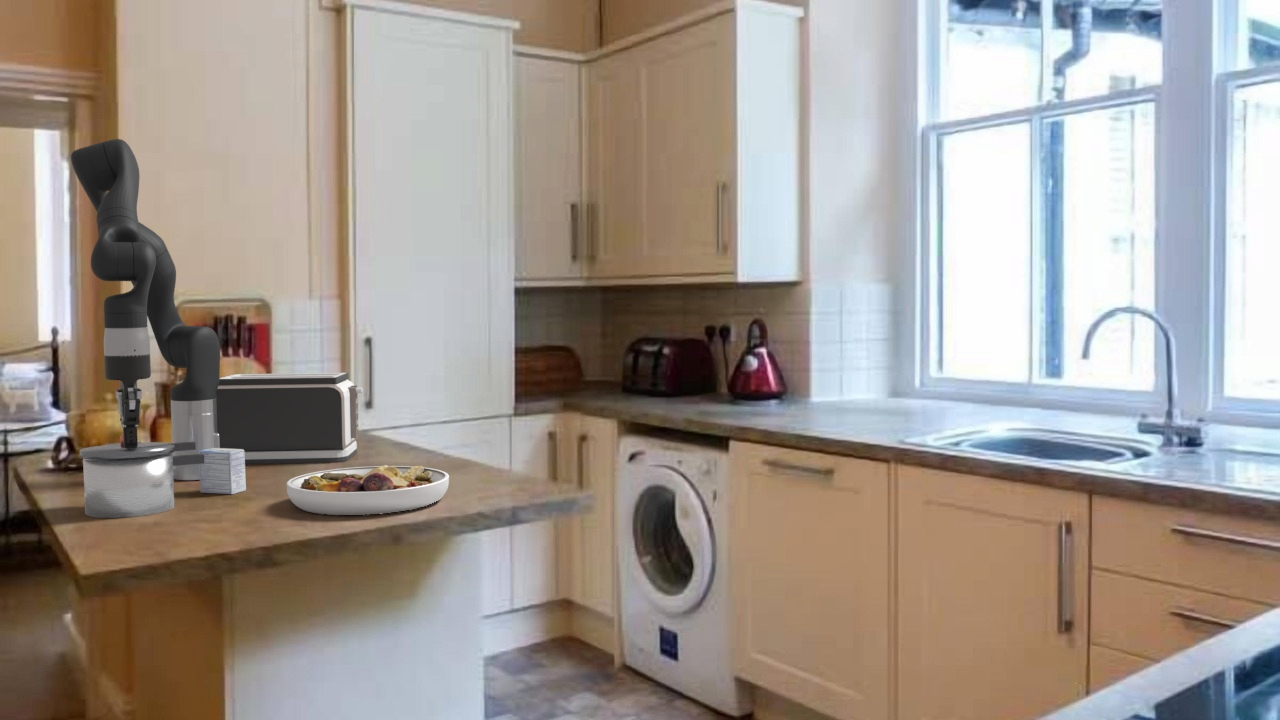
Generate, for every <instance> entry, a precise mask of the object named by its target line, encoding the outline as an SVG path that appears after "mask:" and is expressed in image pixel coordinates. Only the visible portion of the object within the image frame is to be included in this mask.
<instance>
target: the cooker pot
mask: <svg viewBox="0 0 1280 720" xmlns="http://www.w3.org/2000/svg"><path fill="white" fill-rule="evenodd" d="M82 463H83V464H82V466H83V470H82V471H83V492H84V493H83V494H84V515H85V516H87V517H90V518H99V519H102V518H103V519H121V518H122V519H123V518H135V517H136V518H137V517H143V516H149V515H150V516H151V515H155V514H160V513H165V512H168V511H170V510H172V509H174V508H175V492H174V491H175V490H174V489H175V487H174V485H175V484H174V478H173V466H178V465H190V464H203V463H204V454H193V455H180V456H173V452H172V453H169V454H164V455H157V456H149V457H139V458H126V459H84V458H82Z"/></svg>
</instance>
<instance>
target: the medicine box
mask: <svg viewBox="0 0 1280 720" xmlns="http://www.w3.org/2000/svg"><path fill="white" fill-rule="evenodd" d="M199 454H204V463H203V464H200V480H199V482H200V484H199V487H200V493H201V494H202V493H203V494H204V493H205V494H206V493H207V494H223V495H236V494H240V493H243V492H245V491H247V485H246V483H247V480H246V465H245V455H244V450H243V449H227V448H211V449H206V450H202V451H200V452H199Z"/></svg>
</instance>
